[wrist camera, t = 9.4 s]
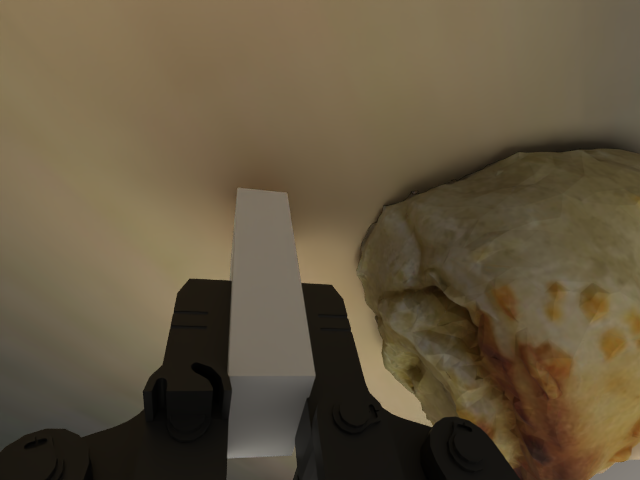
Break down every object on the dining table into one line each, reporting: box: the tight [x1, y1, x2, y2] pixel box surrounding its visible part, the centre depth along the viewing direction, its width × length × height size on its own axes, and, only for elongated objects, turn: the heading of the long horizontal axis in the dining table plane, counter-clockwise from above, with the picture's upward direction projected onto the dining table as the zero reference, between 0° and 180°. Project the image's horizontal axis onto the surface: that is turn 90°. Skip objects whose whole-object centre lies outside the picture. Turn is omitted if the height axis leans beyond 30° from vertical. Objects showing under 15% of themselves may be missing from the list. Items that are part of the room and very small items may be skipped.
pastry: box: [356, 148, 640, 480], centre depth 14 cm, size 14×12×8 cm
